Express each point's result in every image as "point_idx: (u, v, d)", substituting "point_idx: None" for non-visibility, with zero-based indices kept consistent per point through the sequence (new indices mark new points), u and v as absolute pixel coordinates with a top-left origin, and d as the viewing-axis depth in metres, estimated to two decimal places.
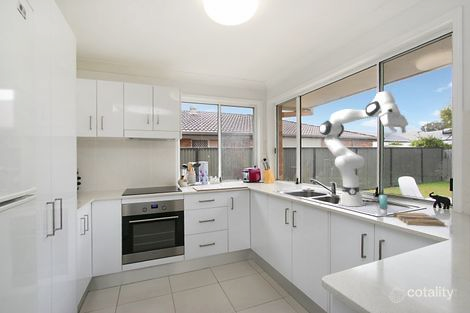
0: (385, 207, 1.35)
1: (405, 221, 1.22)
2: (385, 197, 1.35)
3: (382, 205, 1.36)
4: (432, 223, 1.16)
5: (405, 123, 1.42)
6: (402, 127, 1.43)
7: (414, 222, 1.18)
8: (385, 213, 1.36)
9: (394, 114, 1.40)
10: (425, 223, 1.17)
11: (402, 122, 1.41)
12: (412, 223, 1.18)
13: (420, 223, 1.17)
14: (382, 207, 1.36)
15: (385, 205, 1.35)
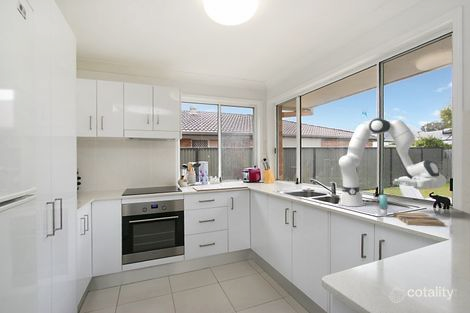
0: (385, 207, 1.35)
1: (405, 221, 1.22)
2: (385, 197, 1.35)
3: (382, 205, 1.36)
4: (432, 223, 1.16)
5: (399, 184, 1.46)
6: (398, 182, 1.45)
7: (414, 222, 1.18)
8: (385, 213, 1.36)
9: (419, 186, 1.38)
10: (425, 223, 1.17)
11: None
12: (412, 223, 1.18)
13: (420, 223, 1.17)
14: (382, 207, 1.36)
15: (385, 205, 1.35)
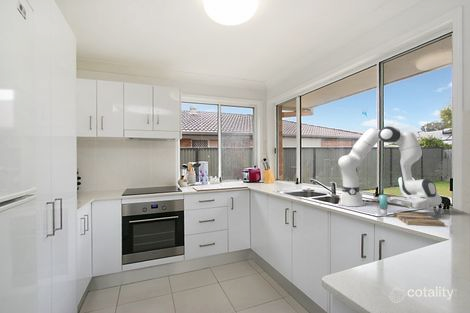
0: (385, 207, 1.35)
1: (405, 221, 1.22)
2: (385, 197, 1.35)
3: (382, 205, 1.36)
4: (432, 223, 1.16)
5: None
6: (393, 200, 1.44)
7: (414, 222, 1.18)
8: (385, 213, 1.36)
9: None
10: (425, 223, 1.17)
11: None
12: (412, 223, 1.18)
13: (420, 223, 1.17)
14: (382, 207, 1.36)
15: (385, 205, 1.35)
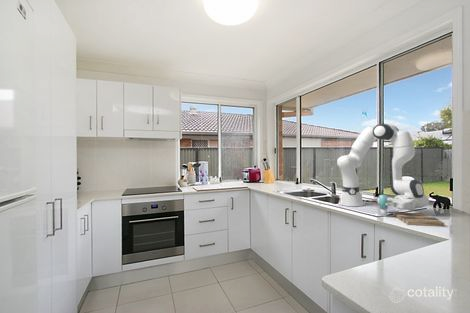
0: (385, 207, 1.35)
1: (405, 221, 1.22)
2: (385, 197, 1.35)
3: (382, 205, 1.36)
4: (432, 223, 1.16)
5: None
6: None
7: (414, 222, 1.18)
8: (385, 213, 1.36)
9: None
10: (425, 223, 1.17)
11: None
12: (412, 223, 1.18)
13: (420, 223, 1.17)
14: (382, 207, 1.36)
15: (385, 205, 1.35)
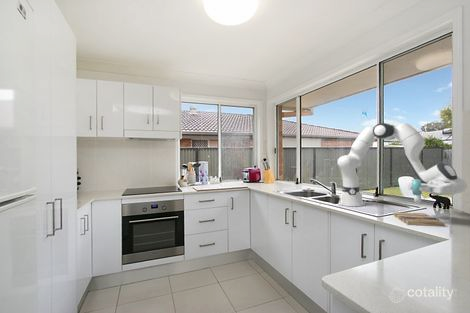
0: (419, 192, 1.22)
1: (405, 221, 1.22)
2: (419, 181, 1.22)
3: (415, 190, 1.23)
4: (432, 223, 1.16)
5: None
6: None
7: (414, 222, 1.18)
8: (419, 199, 1.22)
9: None
10: (425, 223, 1.17)
11: None
12: (412, 223, 1.18)
13: (420, 223, 1.17)
14: (416, 193, 1.23)
15: None
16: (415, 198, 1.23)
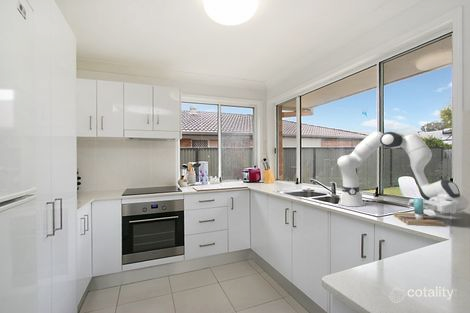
0: (421, 212, 1.21)
1: (405, 221, 1.22)
2: (421, 201, 1.21)
3: (417, 209, 1.22)
4: (432, 223, 1.16)
5: None
6: None
7: (414, 222, 1.18)
8: (421, 218, 1.22)
9: None
10: (425, 223, 1.17)
11: None
12: (412, 223, 1.18)
13: (420, 223, 1.17)
14: (418, 212, 1.22)
15: (421, 210, 1.21)
16: (417, 217, 1.23)
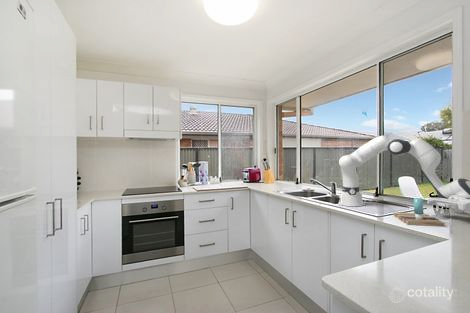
0: (421, 212, 1.21)
1: (405, 221, 1.22)
2: (421, 201, 1.22)
3: (417, 209, 1.22)
4: (432, 223, 1.16)
5: (433, 204, 1.32)
6: (433, 202, 1.30)
7: (414, 222, 1.18)
8: (421, 218, 1.22)
9: None
10: (425, 223, 1.17)
11: None
12: (412, 223, 1.18)
13: (420, 223, 1.17)
14: (417, 212, 1.22)
15: (421, 210, 1.21)
16: (417, 217, 1.23)
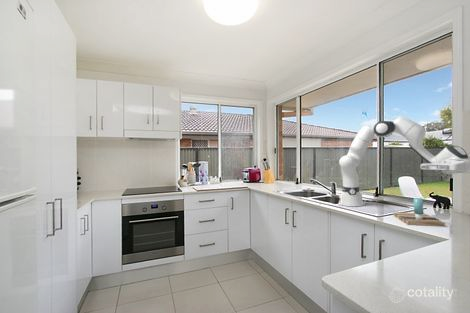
0: (421, 212, 1.21)
1: (405, 221, 1.22)
2: (421, 201, 1.22)
3: (417, 209, 1.22)
4: (432, 223, 1.16)
5: (426, 169, 1.36)
6: (426, 166, 1.34)
7: (414, 222, 1.18)
8: (421, 218, 1.22)
9: (450, 170, 1.28)
10: (425, 223, 1.17)
11: (432, 169, 1.33)
12: (412, 223, 1.18)
13: (420, 223, 1.17)
14: (417, 212, 1.22)
15: (421, 210, 1.21)
16: (417, 217, 1.23)
